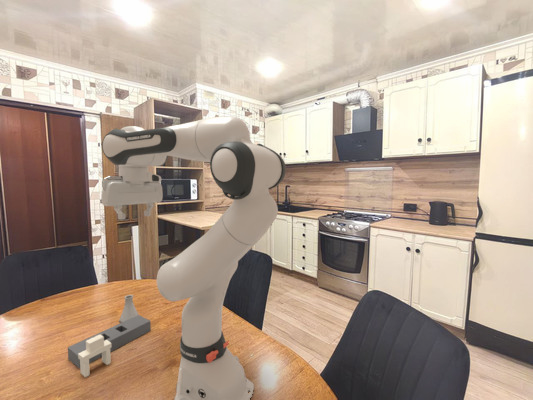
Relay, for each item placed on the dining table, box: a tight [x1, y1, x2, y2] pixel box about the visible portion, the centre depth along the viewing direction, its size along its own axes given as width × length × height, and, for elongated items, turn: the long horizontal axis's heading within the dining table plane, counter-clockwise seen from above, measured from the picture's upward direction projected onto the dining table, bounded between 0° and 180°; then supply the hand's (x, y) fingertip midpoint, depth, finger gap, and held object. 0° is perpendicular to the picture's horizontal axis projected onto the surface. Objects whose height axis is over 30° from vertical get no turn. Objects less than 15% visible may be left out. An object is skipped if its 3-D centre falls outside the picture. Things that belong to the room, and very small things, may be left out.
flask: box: [118, 294, 140, 323], centre depth 106 cm, size 7×7×10 cm
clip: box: [78, 335, 112, 378], centre depth 78 cm, size 3×8×10 cm, turn 148°
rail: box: [67, 314, 152, 369], centre depth 90 cm, size 8×24×4 cm, turn 148°
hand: (135, 217), depth 86 cm, fingers open, 8 cm apart
